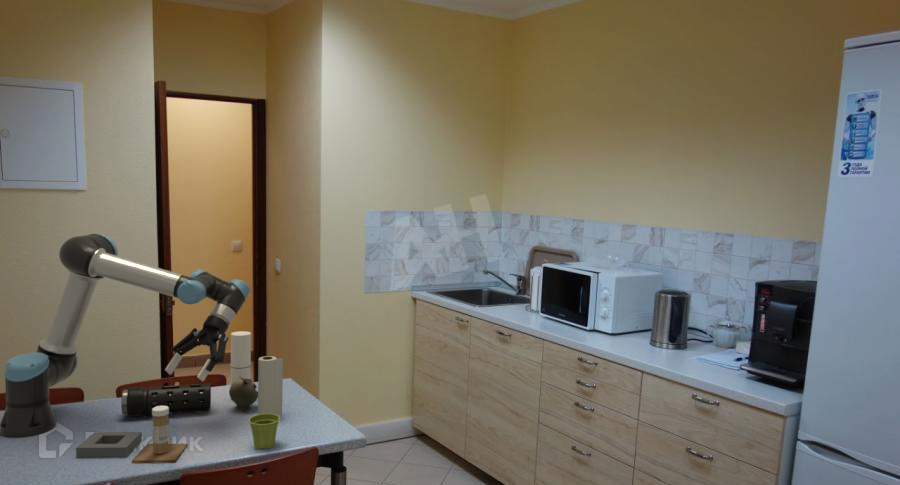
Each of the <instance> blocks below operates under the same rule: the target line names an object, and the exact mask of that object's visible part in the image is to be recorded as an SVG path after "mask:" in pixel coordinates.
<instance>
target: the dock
mask: <svg viewBox="0 0 900 485" xmlns="http://www.w3.org/2000/svg"><path fill="white" fill-rule="evenodd" d="M142 441H143V431H94V432H93V433H91V435H89V436H88V437H87V438H86V439H85V440H84V441H82V442H81V443H79V444H78V446H76V448H75V451H76V452H75V453H76V454H75V458H77V459H78V458H79V459H80V458H82V459H83V458H85V459H86V458H87V459H89V458H90V459H92V458H95V459H96V458H97V459H98V458H103V459H104V458H128V456H129V455H130V454H131V453H132V452H133V451H134V450H135V449H136V448H137V447H138V446H139V445H140V444H141V443H142Z"/></svg>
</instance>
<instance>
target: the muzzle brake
mask: <svg viewBox="0 0 900 485" xmlns="http://www.w3.org/2000/svg"><path fill="white" fill-rule="evenodd" d="M211 385H212V384H211V383H210V382H209V383H196V384H181V385H180V384H179V385H166V386H165V385H161V386H150V387H148V388H145V387H143V386H133V387H129V388H128V389H122V392H121V401H120V404H121V406H120V407H121V415H127V416H129V417H132V416H133V417H134V416H142V417H143V418H144V416H147V417H153V416H152V409H153V408H154V407H157V406H168V407H169V414H170V413H172V415H175V414H190V413H191V414H192V413H203V412H204V413H205V412H209V411H210V410H211V405H212V400H211V399H212V386H211Z"/></svg>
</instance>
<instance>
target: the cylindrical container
mask: <svg viewBox="0 0 900 485" xmlns="http://www.w3.org/2000/svg"><path fill="white" fill-rule="evenodd" d="M251 342H252V332H250V331H244V330H243V331H242V330H240V331H233V332H231V333H230V386H231V385H232V384H233V383H234V382H235V381H236V380H238V379H240V377H241V378H244V379H251V371H252V370H251V369H252V368H251V367H252V366H251V365H252V364H251V363H252V362H251V361H252V360H251V359H252V358H251V357H252V356H251V354H252V350H251V349H252V348H251V347H252V346H251V345H252V343H251ZM239 376H240V377H239ZM229 397H230V396H229ZM230 401H232V399H231V397H230Z"/></svg>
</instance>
